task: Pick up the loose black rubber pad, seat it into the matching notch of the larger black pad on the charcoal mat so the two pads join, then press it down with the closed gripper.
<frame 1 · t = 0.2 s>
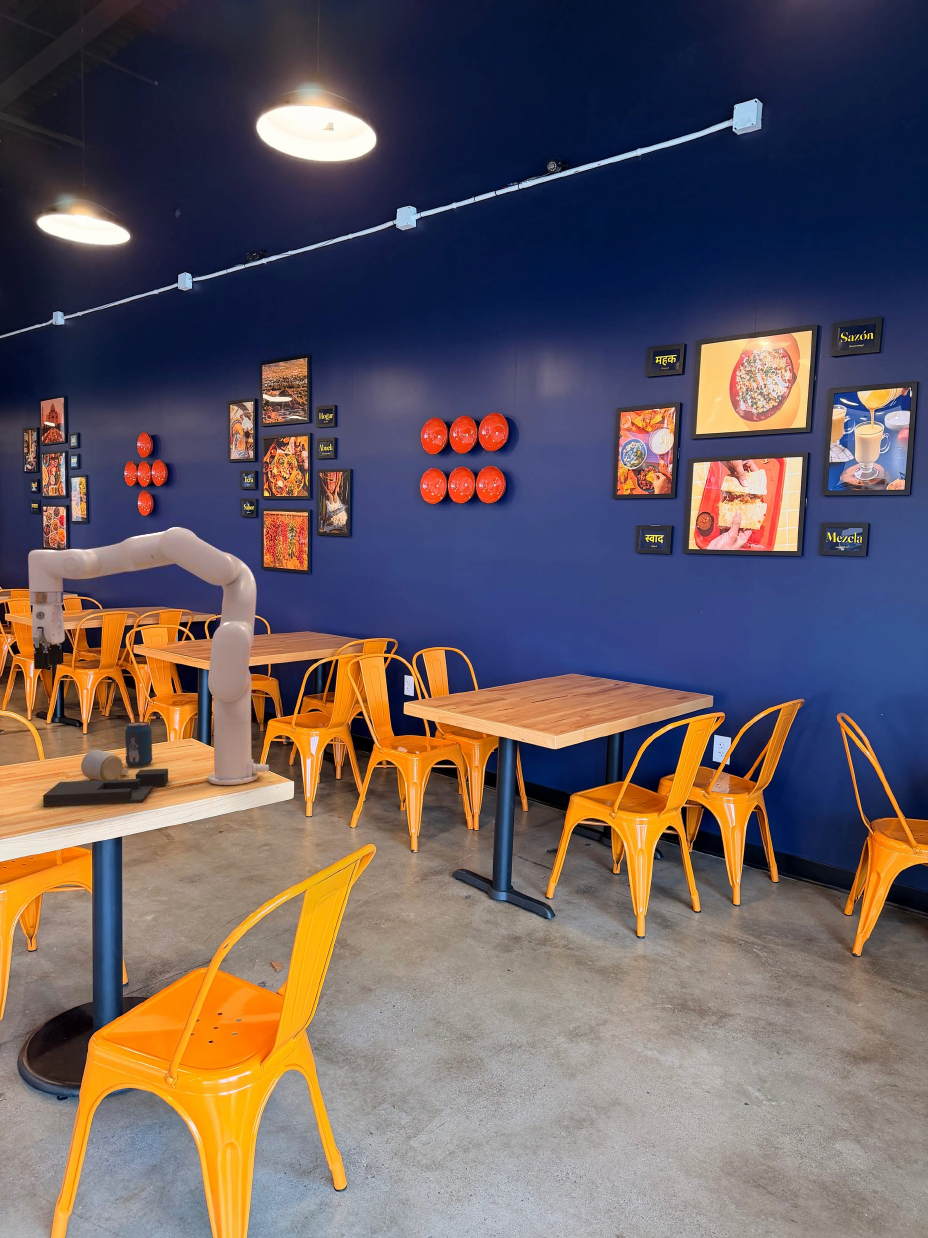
hand: (48, 666, 201), 31 cm above the table, tool pointing down, fingers open, 9 cm apart
loose pad: (152, 784, 206), on the table
ceramic mug: (107, 779, 211), on the table
pad base: (100, 797, 194), on the table
soda can: (139, 766, 226), on the table
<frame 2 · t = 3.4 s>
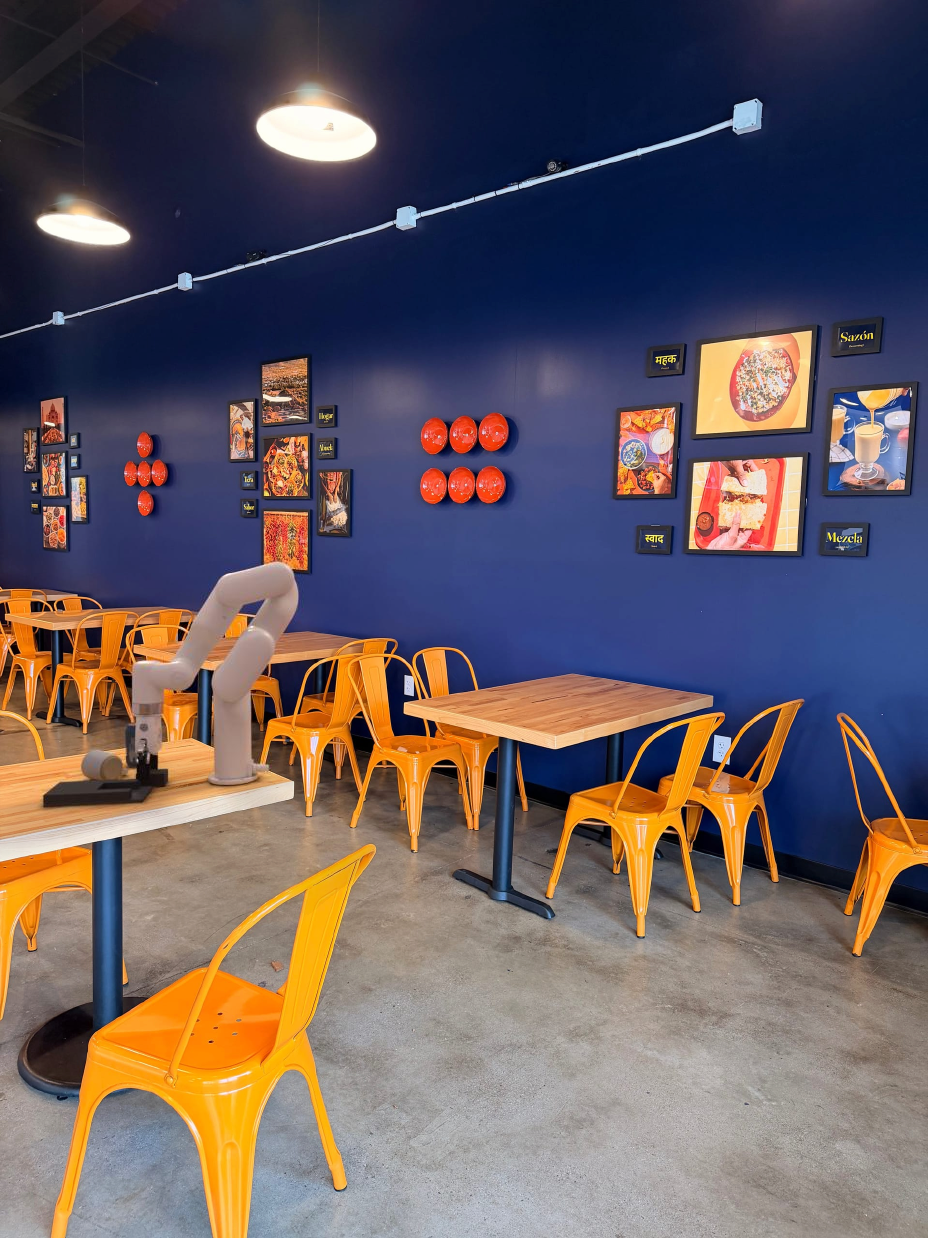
hand: (147, 774, 205), 3 cm above the table, tool pointing down, fingers open, 9 cm apart
nothing on the table moved.
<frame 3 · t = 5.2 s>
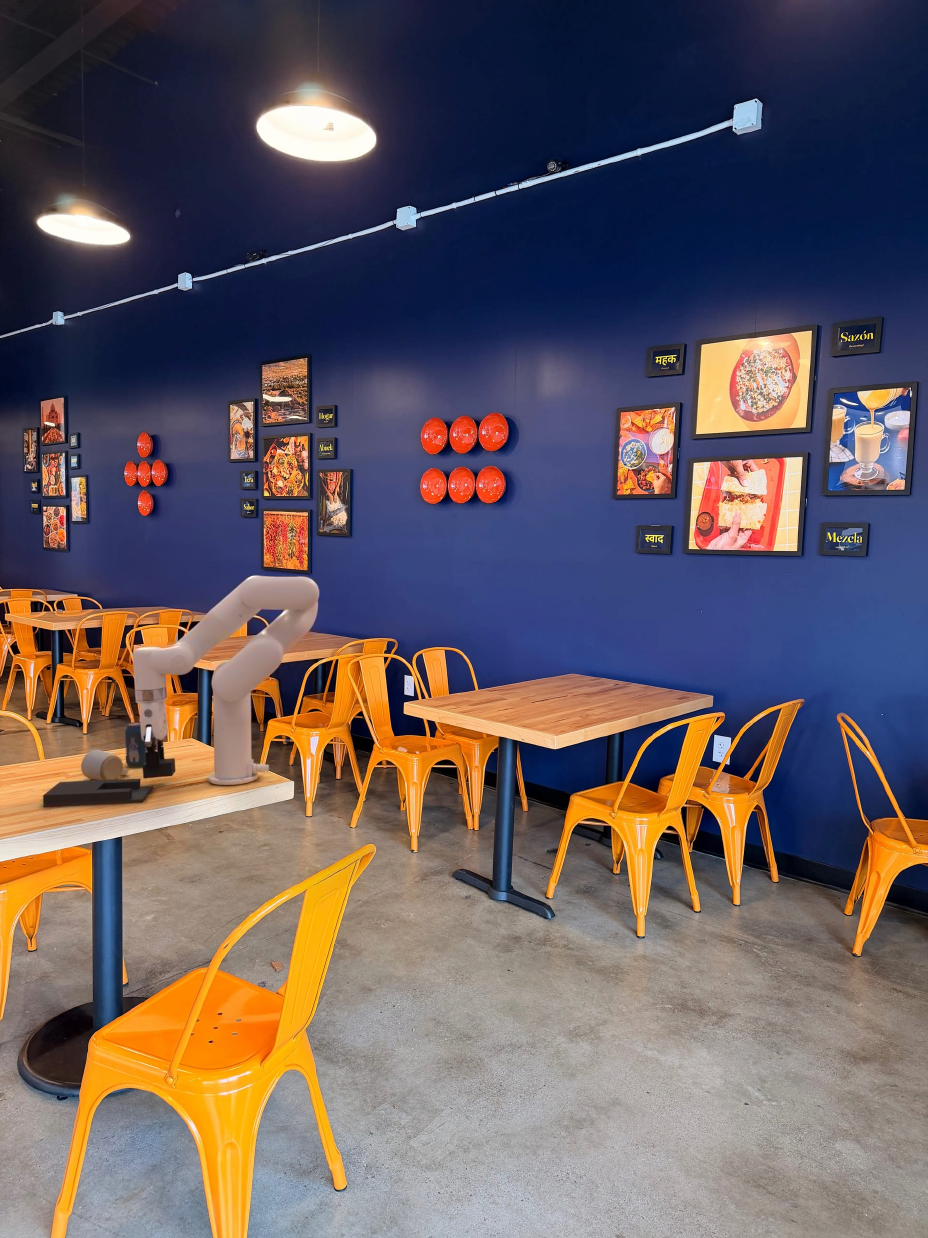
hand: (155, 764, 205), 5 cm above the table, tool pointing down, fingers closed on loose pad, 5 cm apart
loose pad: (159, 774, 206), point 3 cm above the table, touching gripper
everything else where it was.
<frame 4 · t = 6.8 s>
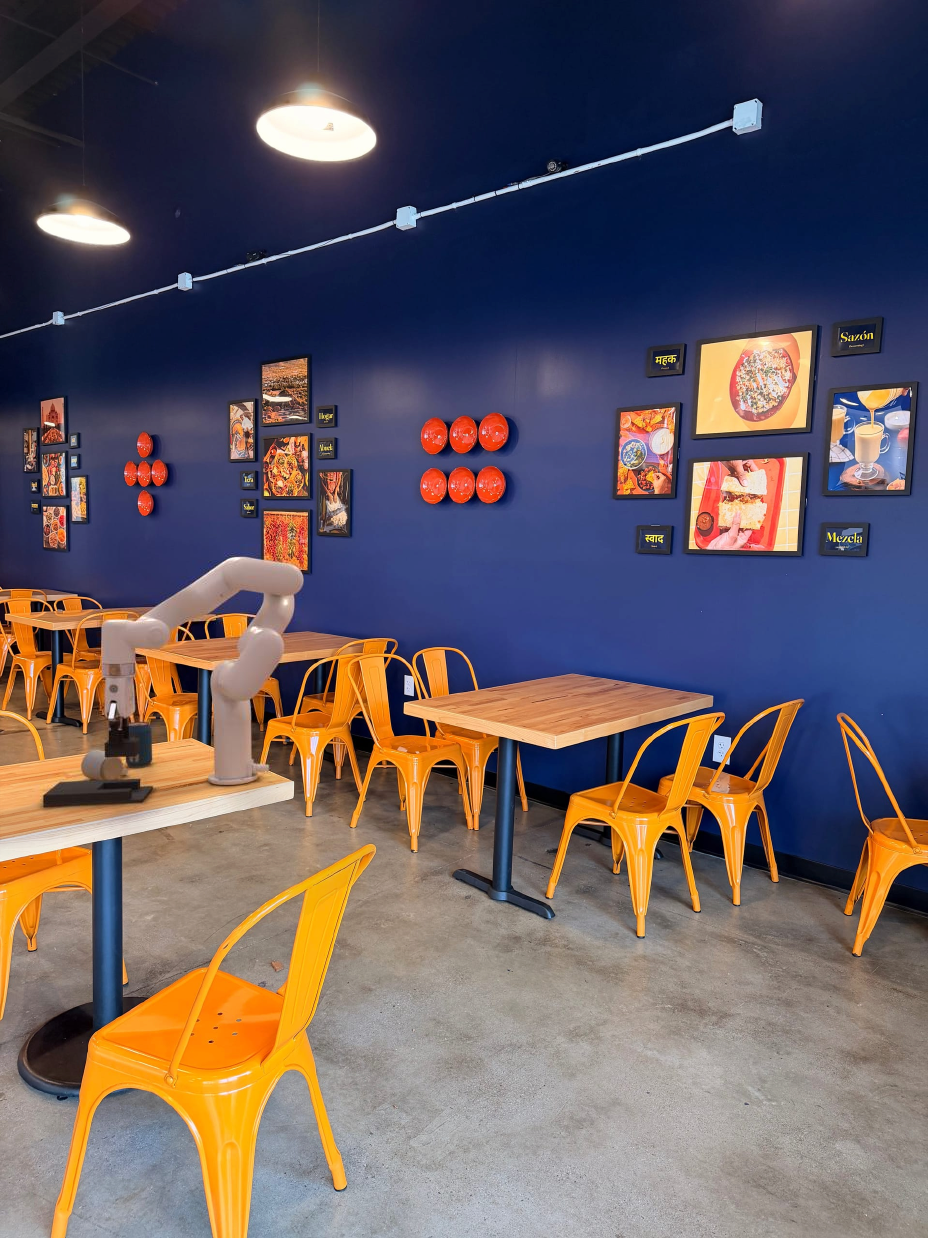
hand: (119, 743, 195), 13 cm above the table, tool pointing down, fingers closed on loose pad, 5 cm apart
loose pad: (122, 754, 195), point 10 cm above the table, touching gripper
everything else where it was.
when the fingers open (3 cm above the table, at t = 8.7 s): loose pad stays where it is, resting on pad base.
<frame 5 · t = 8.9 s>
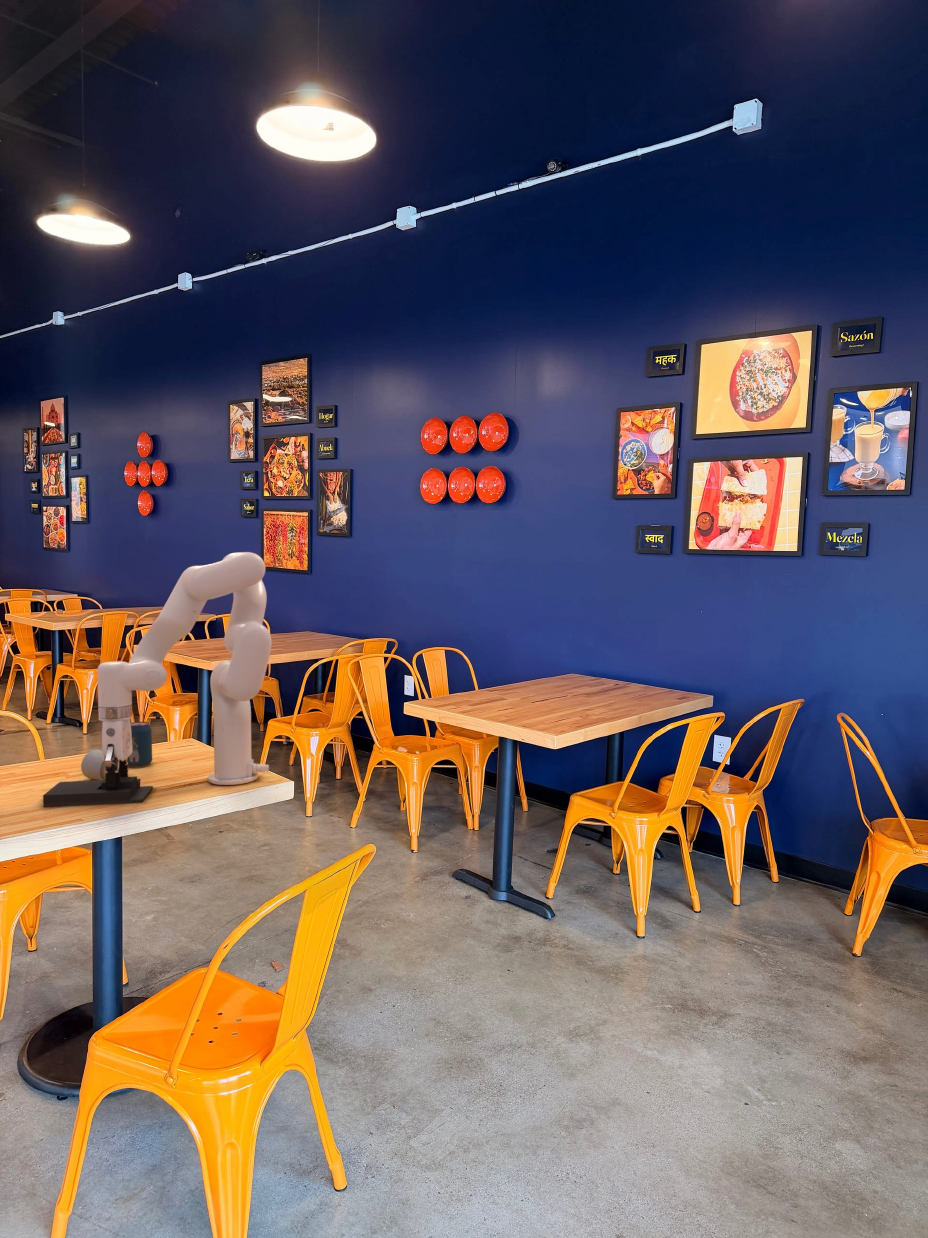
hand: (117, 784, 194), 3 cm above the table, tool pointing down, fingers open, 6 cm apart
loose pad: (119, 793, 195), point 1 cm above the table, touching pad base
everything else where it was.
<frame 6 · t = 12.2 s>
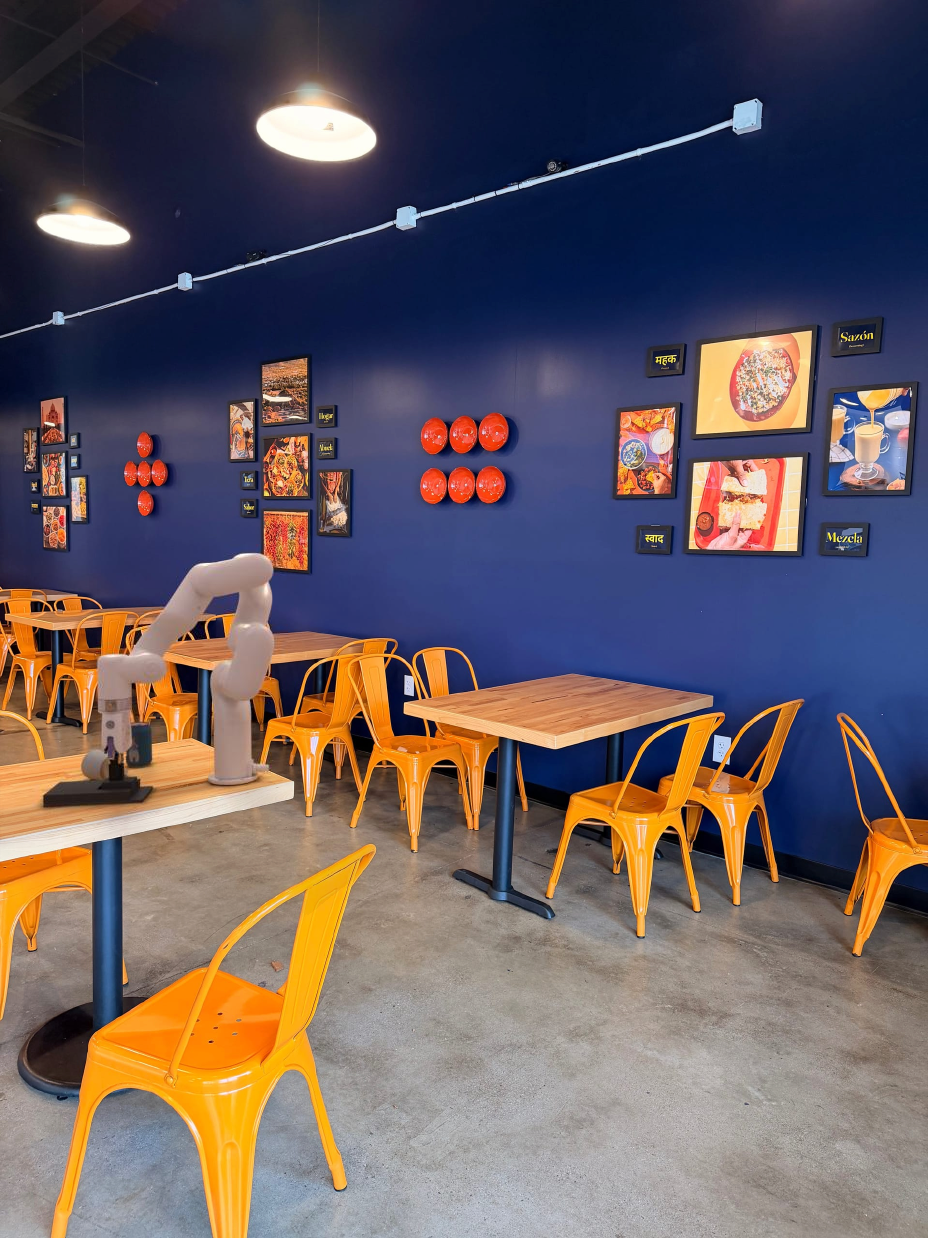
hand: (116, 779, 194), 4 cm above the table, tool pointing down, fingers closed
loose pad: (119, 793, 195), point 1 cm above the table, touching gripper, pad base
everything else where it was.
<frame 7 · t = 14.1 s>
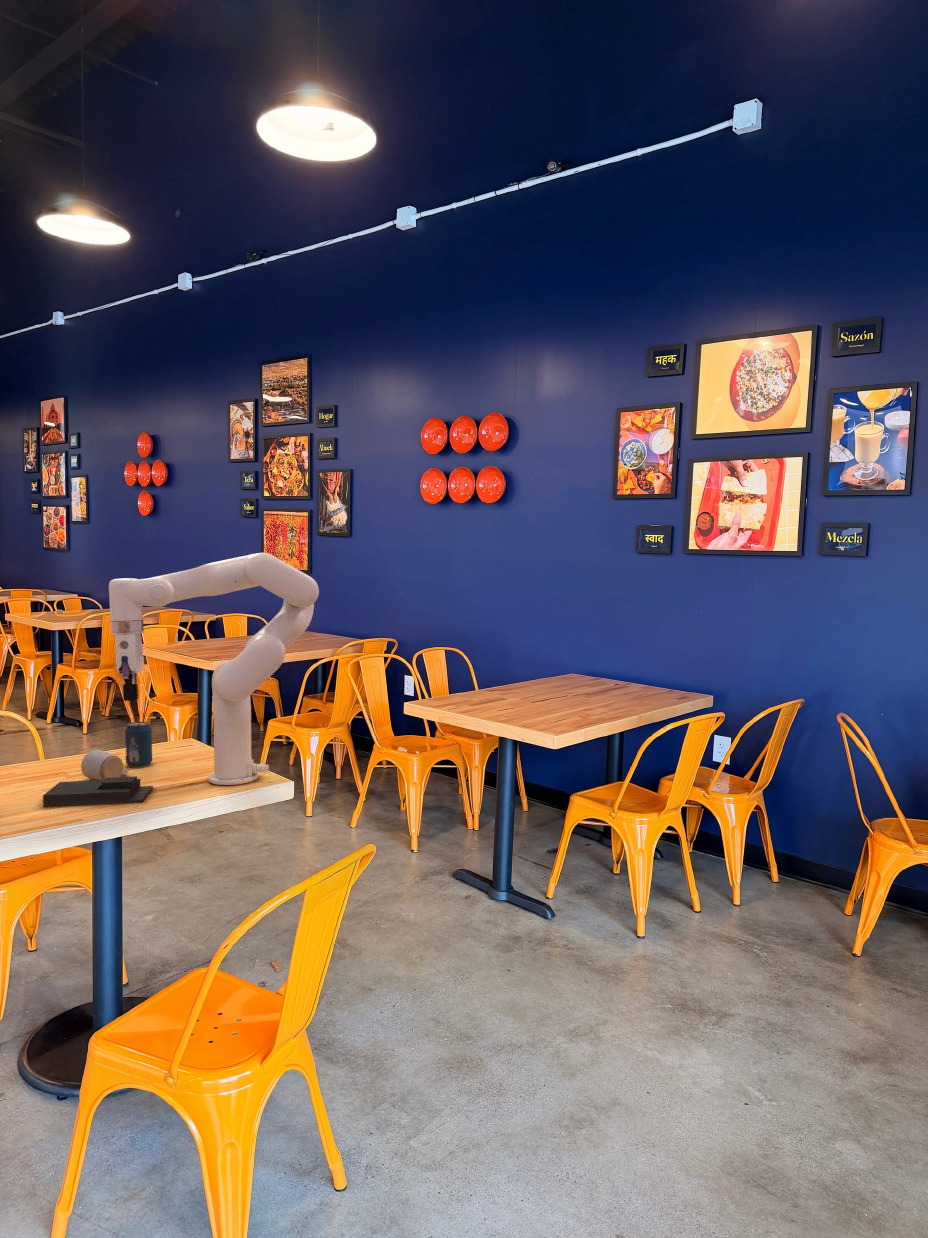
hand: (131, 700, 201), 23 cm above the table, tool pointing down, fingers closed
loose pad: (119, 793, 195), point 1 cm above the table, touching pad base
everything else where it was.
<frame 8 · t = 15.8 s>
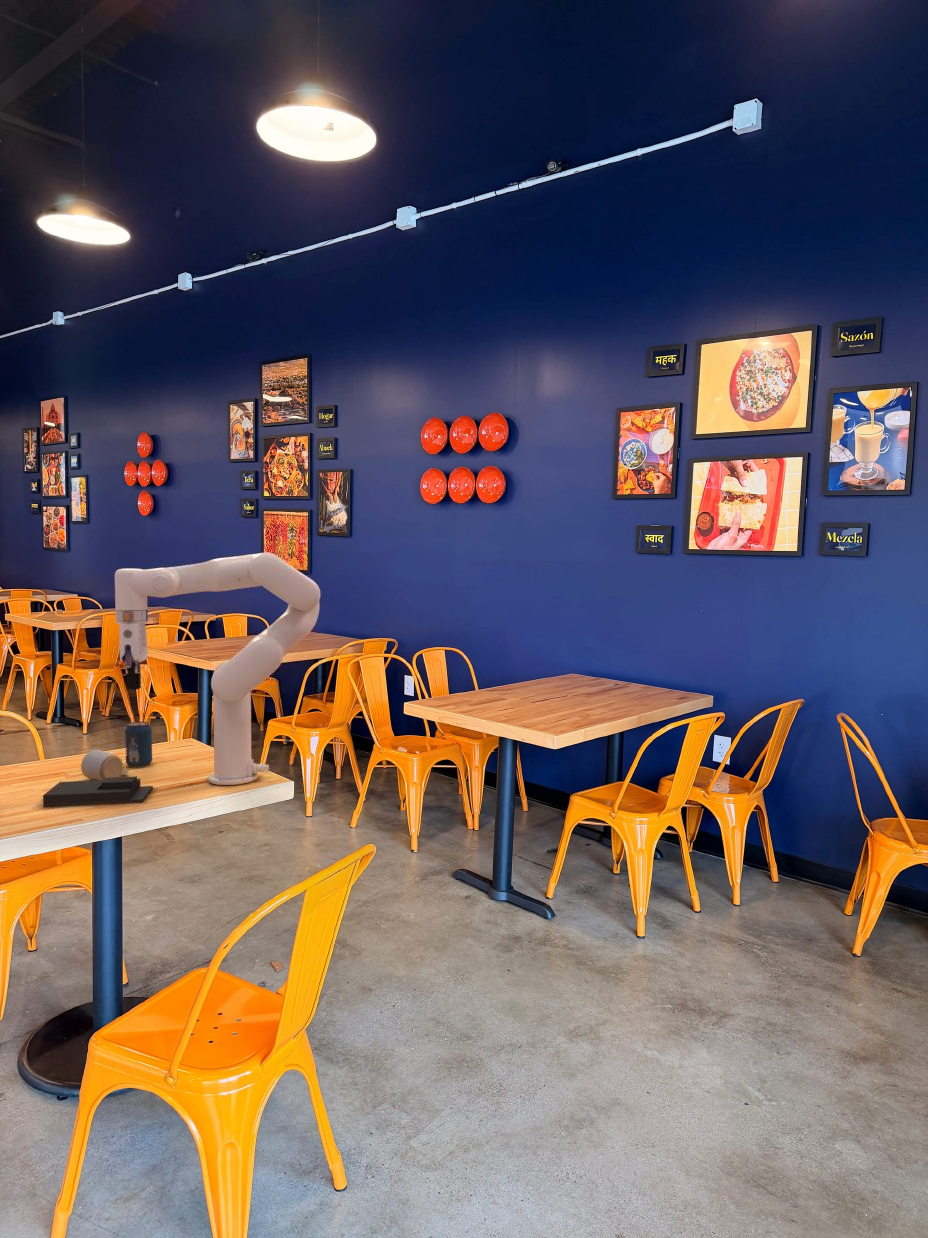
hand: (133, 688, 203), 25 cm above the table, tool pointing down, fingers closed
nothing on the table moved.
at the end: loose pad 0.5 cm from the target spot on the pad base, point 0.8 cm above the pad base's base; loose pad tilted 0°; the gripper is holding nothing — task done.
